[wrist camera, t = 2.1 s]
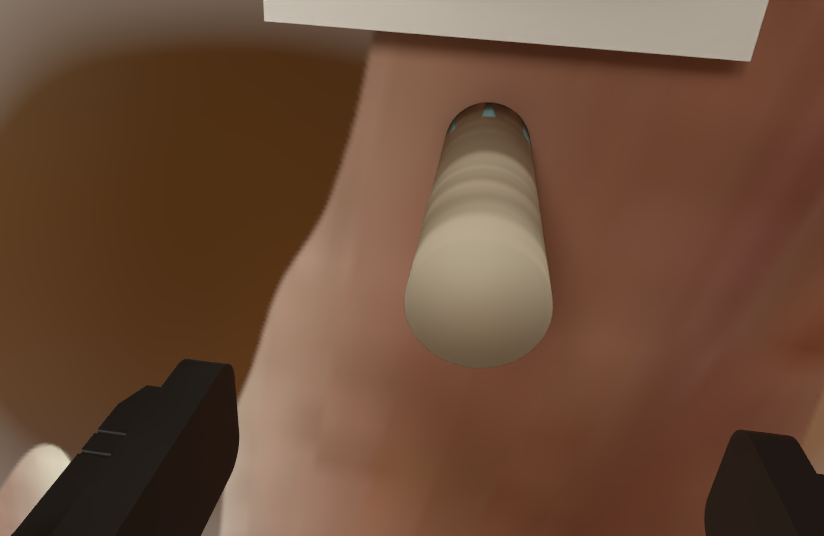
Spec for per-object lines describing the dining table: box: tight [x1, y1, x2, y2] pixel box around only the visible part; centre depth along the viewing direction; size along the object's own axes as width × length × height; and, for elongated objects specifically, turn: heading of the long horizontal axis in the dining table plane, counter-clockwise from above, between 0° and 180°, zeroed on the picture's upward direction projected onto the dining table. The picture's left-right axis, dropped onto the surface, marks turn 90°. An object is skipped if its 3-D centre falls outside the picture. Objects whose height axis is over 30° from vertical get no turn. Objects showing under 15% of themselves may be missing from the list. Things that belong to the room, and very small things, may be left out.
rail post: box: [404, 103, 553, 368], centre depth 19 cm, size 3×3×12 cm
